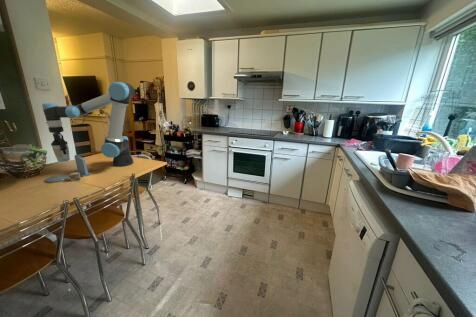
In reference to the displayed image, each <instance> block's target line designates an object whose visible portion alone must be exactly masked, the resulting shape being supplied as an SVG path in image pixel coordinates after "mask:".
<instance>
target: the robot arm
mask: <svg viewBox="0 0 476 317" xmlns="http://www.w3.org/2000/svg"><path fill="white" fill-rule="evenodd" d="M107 91H108V92H107V93H106V94H105V93H104V94H102V95H100V96H98V97H95V98H91V99H90V100H87V101H85V102H81V103H79V104H77V105H68V106H65V105H64V106H61V105H60V106H59V105H58V104H57V103H56V102H54V103H52V102H51V103H50V102H48V103H42V105H41V106H42V112H43V114H44V118H45V120H46V121H45V124H47V126H48V131H49V133H52V137H53V141H54V140H56V141H58V142H59V144H60V147H61V149H60V151H61V152H62V156H63V159H67V158H68V155H67V151H66V149H67V147H66V144H65V141H66V140H65V139H64V135H63V134H62V133H63V132H64V131H65V130H64V126H63V123H62V122H63V121H62V120H61V118H64V119H65V118H68V119H69V118H70V119H71V118H72V119H73V118H74V119H75V118H79V117H81V116H85V115H87V114H89V113H92V112H94V111H97V110H99V109H103V108H104V107H107V106H110V105H111V110H110V117H109V124H108V130H107V131H108V133H107V135H106V136H105V137H104V143H103V144H102V145H101V147H100V151H101V153H102V154H103V155H104V157H107V158H110V159H112V166H114V167H127V166H130V165H132V164H134V159H133V157H132V155H131V150H130V143H129V138H128V136H126V135H125V136H124V135H123V132H124V130H123V129H124V124H125V117H126V110H127V106H129V105H130V102H131V99H133V98H134V97H135V96H136V90H135V88H134V86H132V84H130V83H127V82H122V81H114V82H112V83H111V84H110V85H109V87H108V89H107ZM64 140H65V141H64Z"/></svg>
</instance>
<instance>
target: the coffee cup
mask: <svg viewBox="0 0 476 317" xmlns="http://www.w3.org/2000/svg"><path fill="white" fill-rule="evenodd" d="M64 141H65V144H66V147H67V149H66V151H67V155H68V158H67V159H63V156H62V152H61V151H60V149H61V147H60V144H59V142H58V141H56V140H54V139H53V140H52V142H51V144H50V145H51V147H52V151H53V153H54V155H55V157H56V160H57V162H58V163H66V162H68V161H69V162H70V160H71V158H70V150H69V149H70V148H69V146H68V144H69V143H68V141H67V140H65V139H64Z"/></svg>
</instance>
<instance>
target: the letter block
mask: <svg viewBox="0 0 476 317" xmlns="http://www.w3.org/2000/svg"><path fill="white" fill-rule="evenodd" d="M81 177H82V176H81V175H80V172H75V171H74V172H70V174H69V179H70V182H78V181H81V179H82V178H81Z"/></svg>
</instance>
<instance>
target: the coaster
mask: <svg viewBox="0 0 476 317" xmlns="http://www.w3.org/2000/svg"><path fill="white" fill-rule="evenodd" d="M68 179H70V174H56V175H52V176H49V177H47V178H45V183H48V184H49V183H50V184H52V183H54V184H55V183H61V182H64V181H66V180H68Z"/></svg>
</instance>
